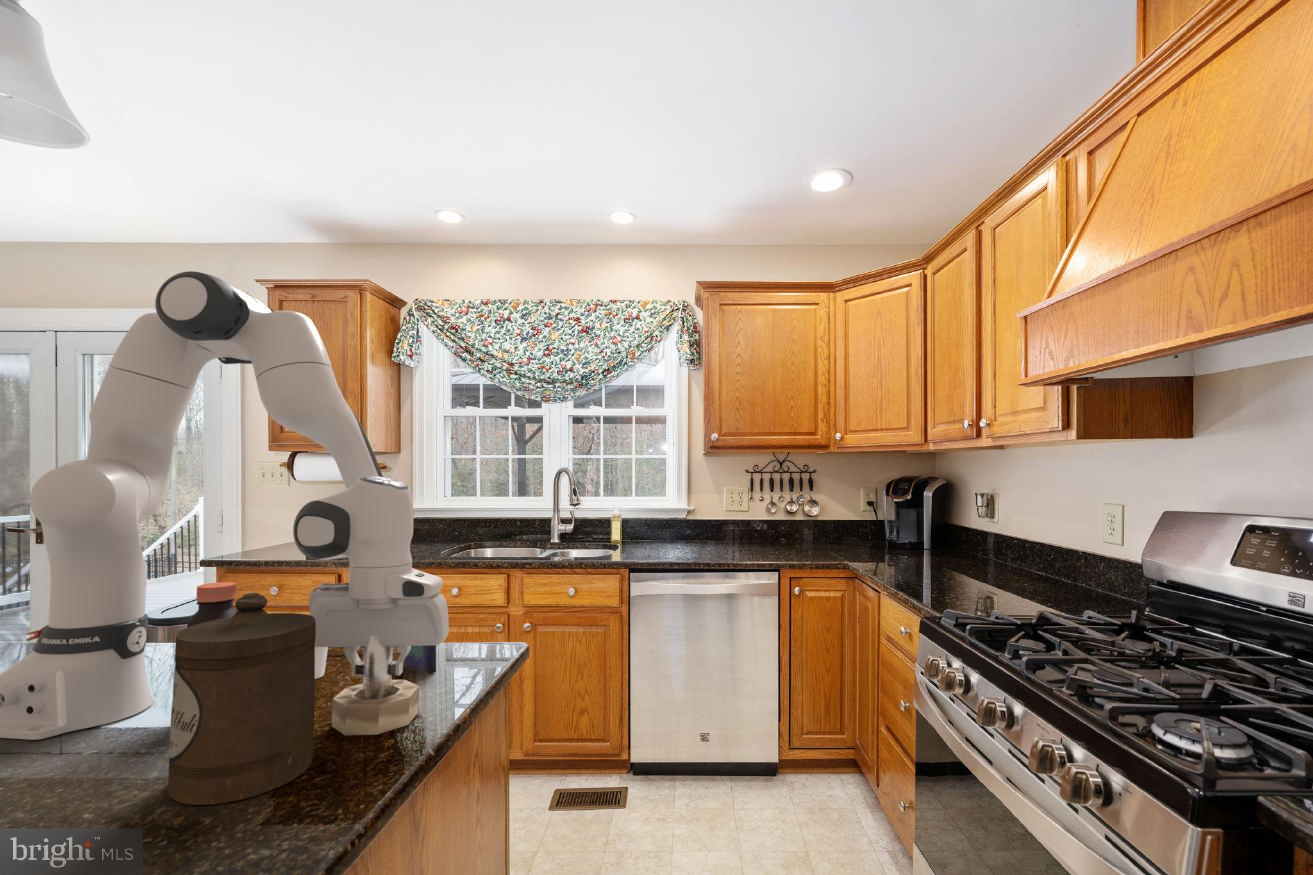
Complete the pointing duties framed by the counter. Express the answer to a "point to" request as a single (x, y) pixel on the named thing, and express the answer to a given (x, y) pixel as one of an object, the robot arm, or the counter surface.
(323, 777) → the counter surface
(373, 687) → the white candle
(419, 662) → the flask
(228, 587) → the bottle
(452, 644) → the counter surface
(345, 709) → the bead
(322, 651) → the white short cylinder
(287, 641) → the wooden container
